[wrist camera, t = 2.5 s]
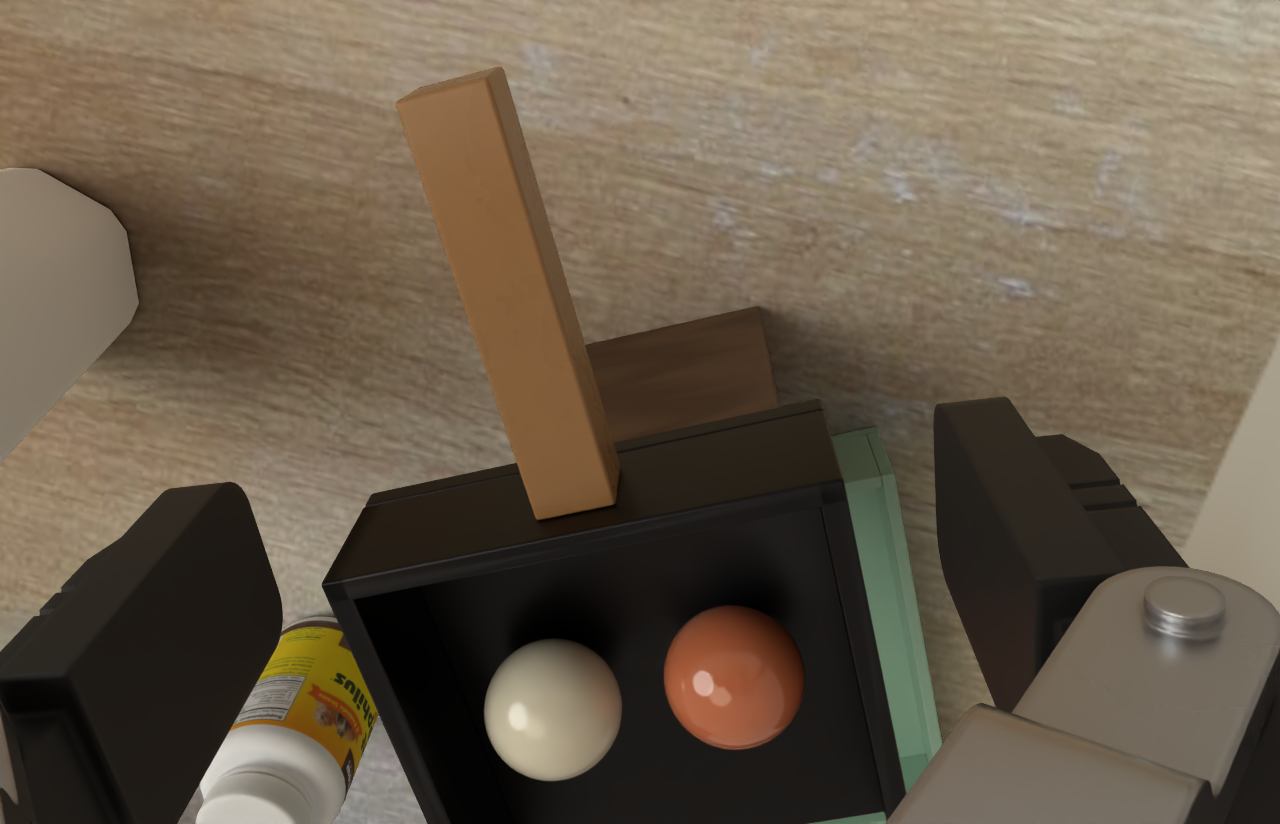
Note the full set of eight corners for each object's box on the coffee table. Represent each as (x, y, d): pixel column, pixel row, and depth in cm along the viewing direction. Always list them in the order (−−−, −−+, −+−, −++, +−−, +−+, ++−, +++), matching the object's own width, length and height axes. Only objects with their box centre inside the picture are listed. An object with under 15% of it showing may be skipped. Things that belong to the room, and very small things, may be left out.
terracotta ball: (784, 565, 23) (797, 649, 20) (809, 675, 24) (825, 769, 22) (650, 591, 24) (645, 676, 21) (681, 697, 25) (681, 792, 22)
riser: (758, 305, 40) (807, 563, 24) (779, 399, 42) (838, 701, 25) (556, 351, 41) (471, 627, 25) (583, 441, 43) (520, 756, 27)
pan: (738, -4, 19) (750, 10, 16) (900, 791, 26) (931, 914, 23) (225, 133, 20) (136, 174, 17) (517, 852, 28) (494, 976, 24)
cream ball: (607, 599, 24) (596, 686, 21) (640, 705, 25) (634, 800, 22) (479, 624, 24) (452, 711, 21) (517, 726, 25) (496, 823, 22)
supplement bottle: (407, 703, 49) (341, 886, 39) (291, 714, 49) (200, 898, 40) (376, 602, 46) (299, 772, 37) (255, 615, 47) (149, 785, 38)
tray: (876, 425, 42) (894, 472, 38) (935, 752, 49) (956, 818, 45) (515, 500, 44) (500, 552, 40) (620, 804, 51) (614, 871, 47)
